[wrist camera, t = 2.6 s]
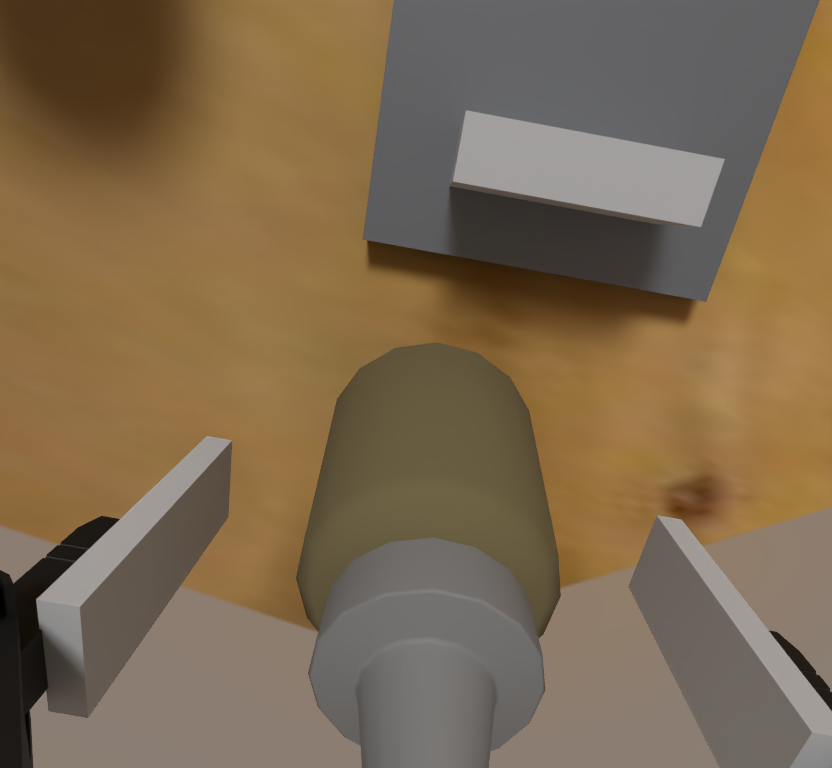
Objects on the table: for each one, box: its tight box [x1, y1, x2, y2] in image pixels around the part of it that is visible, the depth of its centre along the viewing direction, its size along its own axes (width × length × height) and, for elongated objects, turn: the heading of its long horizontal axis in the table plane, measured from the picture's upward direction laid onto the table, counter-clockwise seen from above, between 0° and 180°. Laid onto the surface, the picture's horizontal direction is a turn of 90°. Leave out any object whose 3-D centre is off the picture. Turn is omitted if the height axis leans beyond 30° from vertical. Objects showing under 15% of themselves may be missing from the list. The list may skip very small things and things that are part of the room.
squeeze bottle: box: [296, 343, 560, 768], centre depth 15 cm, size 8×8×18 cm
